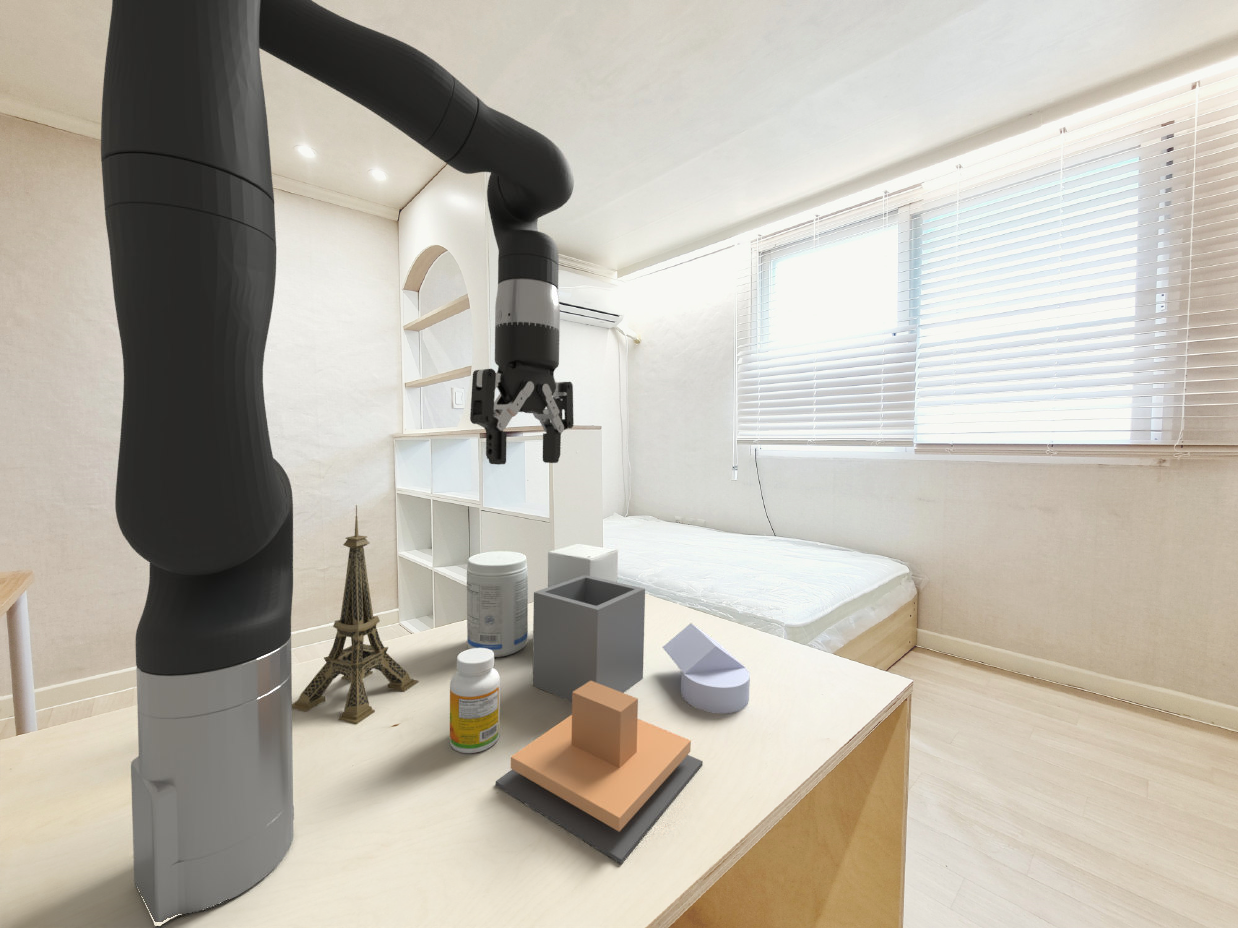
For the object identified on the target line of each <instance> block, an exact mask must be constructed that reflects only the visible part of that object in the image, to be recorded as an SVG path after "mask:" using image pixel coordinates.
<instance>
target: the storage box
mask: <svg viewBox="0 0 1238 928" xmlns="http://www.w3.org/2000/svg"><path fill="white" fill-rule="evenodd" d="M645 609H646V588H643V587H640V586H639V587H638V586H635V585H631V584H627V583H623V582H618V581H617V582H614V581H609V580H605V579H600V578H596V577H592V576H587V575H583V576H580V577H577V578H574V579H571V580H568V581H565V582H563V583H560V584H557V585H554V586H551V587H548V586H547V587H544V588H543V589H540V590H537V591H533V616H532V617H533V629H532V635H533V636H532V686H533V687H536V688H538V689H540V690H542V691H545V692H547V693H549V694H552V695H555V696H556V697H559V698H560V699H563V700H566V701H568V702H571V703H572V692H573V691H575V690H576V689H578V688H580V687H581V686H583V685H584V684H586V683H588V682H589V681H593V682H596V683H598V684H601V685H604V686H606V687H609V688H612V689H614V690H617V691H619V692H622V693H625V692H626V691H627V690H628V689H630V688H631V687H633V686H635V685H636V684H637V683H638V682H640V681H641V680H642V679H644V653H645V652H644V651H645V649H644V648H645V647H644V646H645V644H644V643H645Z"/></svg>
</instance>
